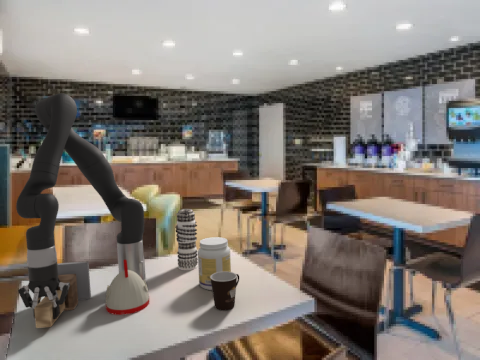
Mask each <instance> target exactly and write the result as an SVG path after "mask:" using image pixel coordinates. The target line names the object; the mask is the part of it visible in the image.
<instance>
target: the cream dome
mask: <svg viewBox="0 0 480 360" xmlns="http://www.w3.org/2000/svg"><path fill="white" fill-rule="evenodd" d="M146 281H147V280H146ZM146 281H145V280H142V279H141V277H140V276H139V275H138V274H137V273H135V272H133V271H131V270H128V267H127V260H124V271H122V272H120V273H119V272H118V273H117V274H116V275H115V277H114V278H113V279H112V281H111V283H110V284H109V285H107V287H106V292H105V293H106V294H105V310H106V312H107V313H109V314H112V315H116V316H117V315H120V316H122V315H124V316H125V315H131V314H135V313H138V312H140V311H142V310H145V309H146V308H147V307H148V306H149V305H150V294H149V289H148V285H147V282H146Z"/></svg>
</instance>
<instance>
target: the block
mask: <svg viewBox="0 0 480 360" xmlns="http://www.w3.org/2000/svg"><path fill="white" fill-rule="evenodd" d="M58 278H59V280H60V282H62V283H67V282H69V283H70V287H69V290H68V294H67V297H66V300H65V309H64V310H63V312H67V311H74V310H75V309H76V307H77V306H78V304H79V300H78V293H77V280H76V274H67V275H58ZM57 290H60V287H58V288H57ZM57 290H56V291H57Z"/></svg>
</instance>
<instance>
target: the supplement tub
mask: <svg viewBox="0 0 480 360" xmlns="http://www.w3.org/2000/svg"><path fill="white" fill-rule="evenodd" d="M197 259H198V260H197V261H198V263H197V265H198V267H197V268H198V283H199V286H200V287H201V288H202V289H205V290H208V291H212V285H211V278H210V276H211V275H212V274H214V273H217V272H232V266H231V265H232V264H231V260H232V259H231V248H230V247H229V243H228V239H227V238H225V237H221V236H220V237H218V236H217V237H216V236H213V237H206V238H203V239H200V240H199V248H198V250H197Z"/></svg>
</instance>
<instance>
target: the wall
mask: <svg viewBox="0 0 480 360" xmlns="http://www.w3.org/2000/svg"><path fill="white" fill-rule="evenodd" d="M57 265H58V275H67V274H76V280H77V293H78V301H82V300H83V301H84V300H90V299H91V298H92V293H91V292H92V291H91V290H92V289H91V279H90V266H89V261H75V262H61V263H59V262H57Z"/></svg>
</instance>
